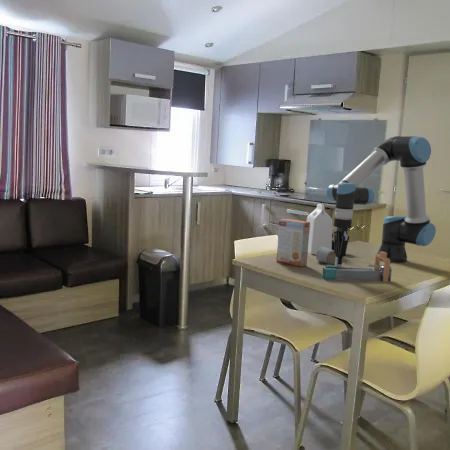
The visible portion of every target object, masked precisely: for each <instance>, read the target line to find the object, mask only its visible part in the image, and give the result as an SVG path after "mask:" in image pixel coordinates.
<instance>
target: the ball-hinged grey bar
mask: <svg viewBox="0 0 450 450" xmlns="http://www.w3.org/2000/svg"><path fill="white" fill-rule="evenodd" d="M392 270H393V269H392V268H391V270H389V276H388V282H391V280H392V272H393V271H392ZM383 273H384V269H381V268H379V270H374V269H373V270H362V269H335V268H326V267H322V279H323V280H327V281H328V280H329V281H330V280H331V281H365V282H366V281H368V282H371V281H372V282H374V281H375V282H376V281H377V282H383ZM388 282H387V283H388Z"/></svg>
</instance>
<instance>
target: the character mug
mask: <svg viewBox="0 0 450 450" xmlns="http://www.w3.org/2000/svg"><path fill="white" fill-rule="evenodd" d="M336 231H337V227H335V226H332V248H331V250H334V232H336Z"/></svg>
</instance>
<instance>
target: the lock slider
mask: <svg viewBox="0 0 450 450" xmlns="http://www.w3.org/2000/svg"><path fill="white" fill-rule="evenodd" d="M374 256H375V258H374V265H381V261H382V260H383V262H384V265H383V266H384V273H383V281H382V283H388V276H389V267H391V266H390V265H391V262H390V259H388V258H386V257H387V253H386V252H379V254H377V253H376V254H375V255H374ZM380 259H381V260H380ZM373 270H380V268H376V267H373Z"/></svg>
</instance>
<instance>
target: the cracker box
mask: <svg viewBox="0 0 450 450" xmlns="http://www.w3.org/2000/svg"><path fill="white" fill-rule="evenodd" d="M278 222H279V223H278V234H277V235H278V236H277V249H276V250H277V251H276V262H278V263H281V262H282V263H283V264H287V265H291V266H296V267H299V268H300V267H306V266H307V265H308V254H309V253H308V243H309V231H310V222H306V221H304V220H299V219H293V218H279V221H278Z"/></svg>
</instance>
